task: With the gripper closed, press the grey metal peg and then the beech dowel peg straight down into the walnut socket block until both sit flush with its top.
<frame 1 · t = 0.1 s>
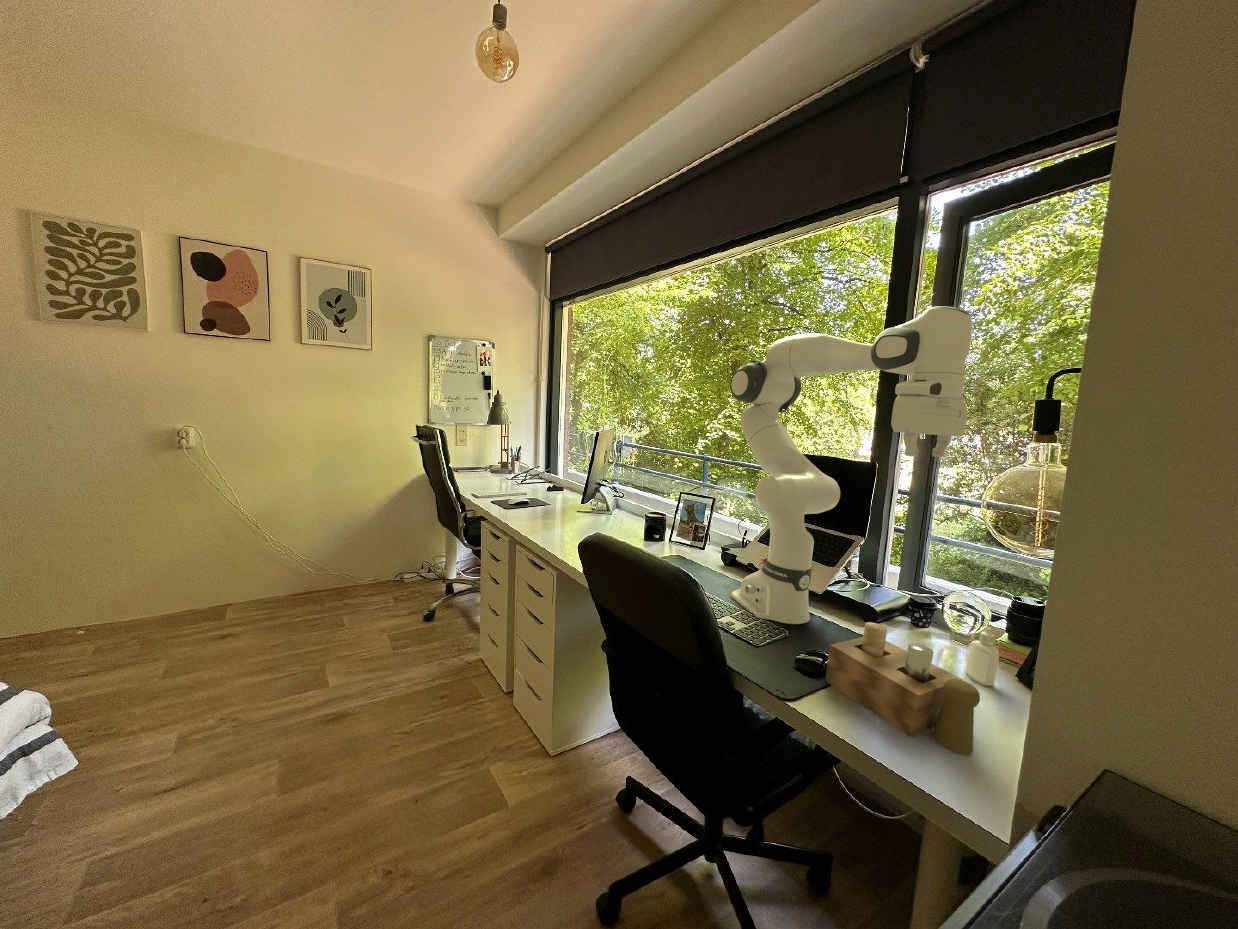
hand: (924, 456, 99), 48 cm above the table, fingers open, 8 cm apart
beech peg: (873, 645, 98), point 9 cm above the table, slide at 0.0 cm
cork: (951, 743, 84), on the table
grey metal peg: (917, 668, 90), point 9 cm above the table, slide at 0.0 cm
eye dropper bottle: (978, 680, 106), on the table
socket block: (887, 699, 95), on the table
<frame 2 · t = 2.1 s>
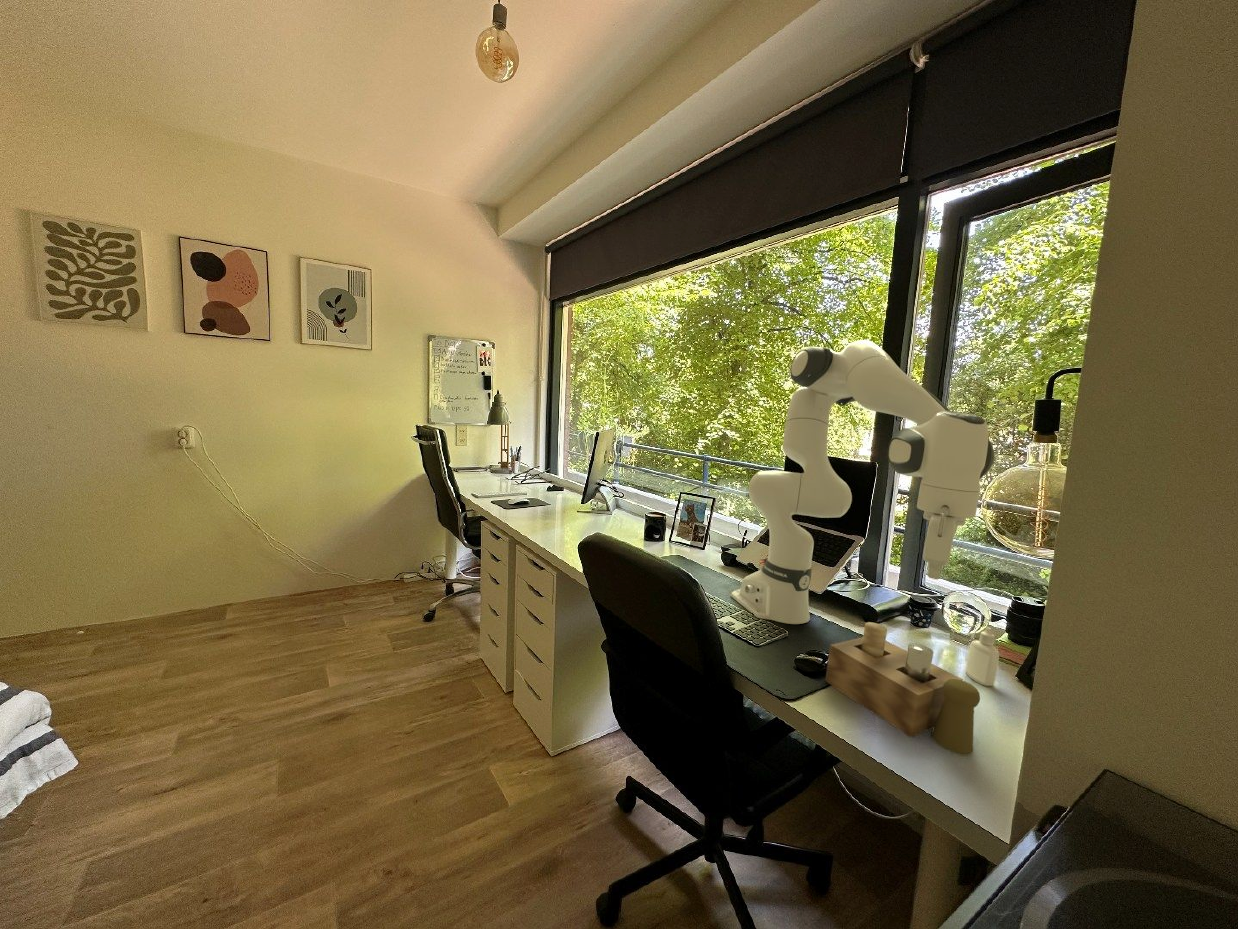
hand: (933, 576, 88), 27 cm above the table, fingers closed
nothing on the table moved.
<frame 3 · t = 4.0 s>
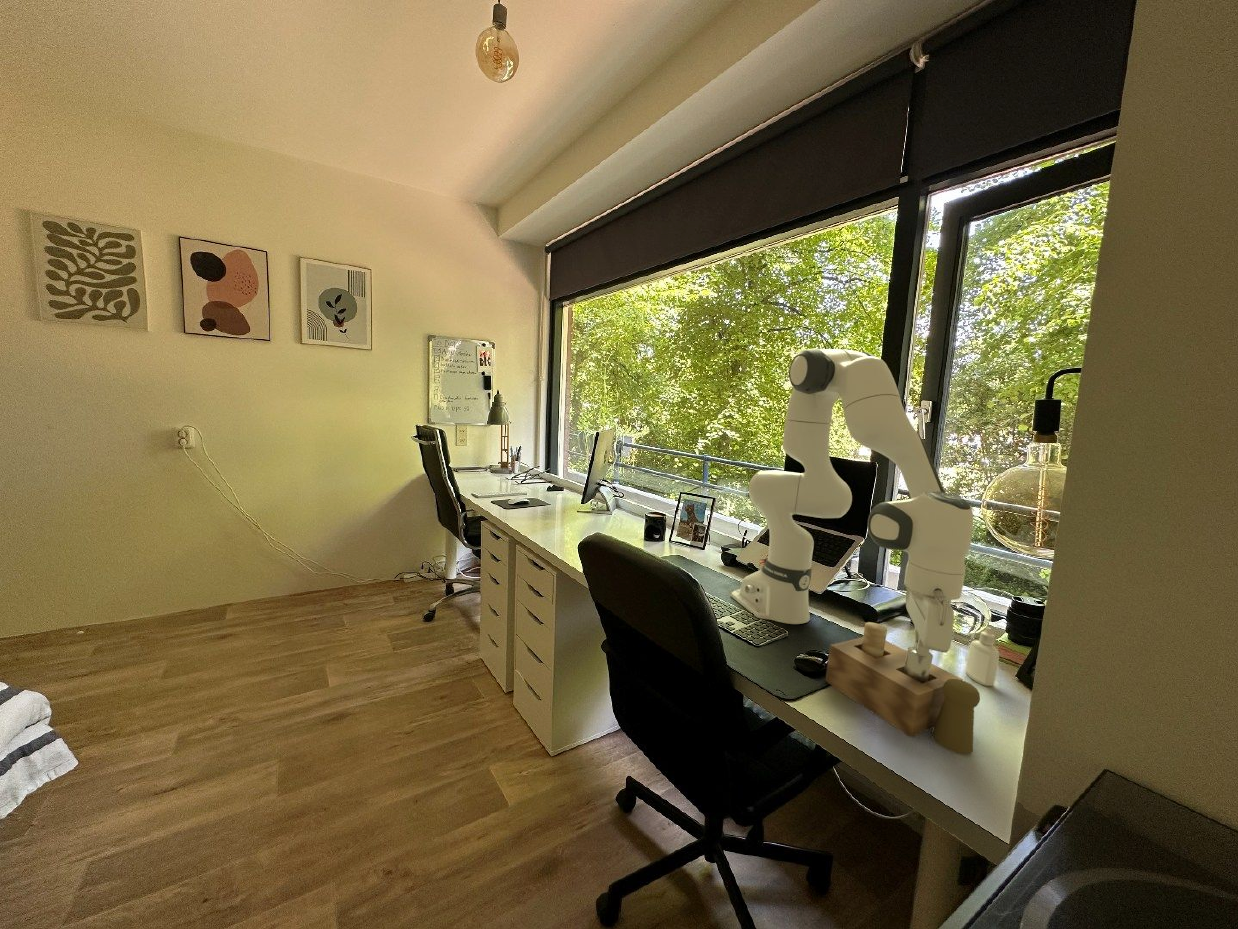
hand: (920, 652, 89), 12 cm above the table, fingers closed
grey metal peg: (916, 671, 90), point 8 cm above the table, slide at 0.8 cm, touching gripper
everything else where it was.
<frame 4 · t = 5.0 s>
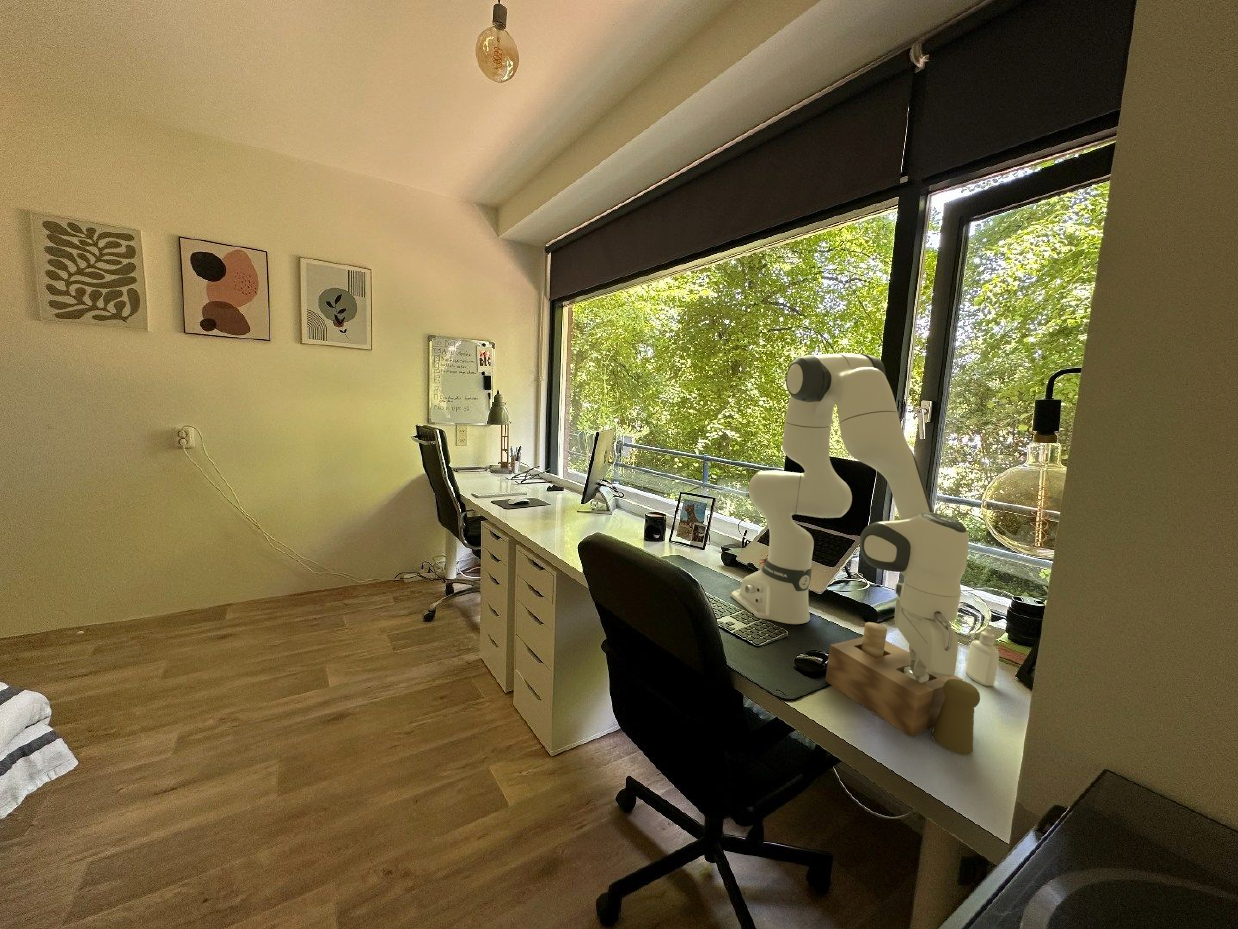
hand: (916, 672, 90), 8 cm above the table, fingers closed, pressing on grey metal peg
grey metal peg: (913, 691, 91), point 4 cm above the table, slide at 4.8 cm, touching gripper
everything else where it was.
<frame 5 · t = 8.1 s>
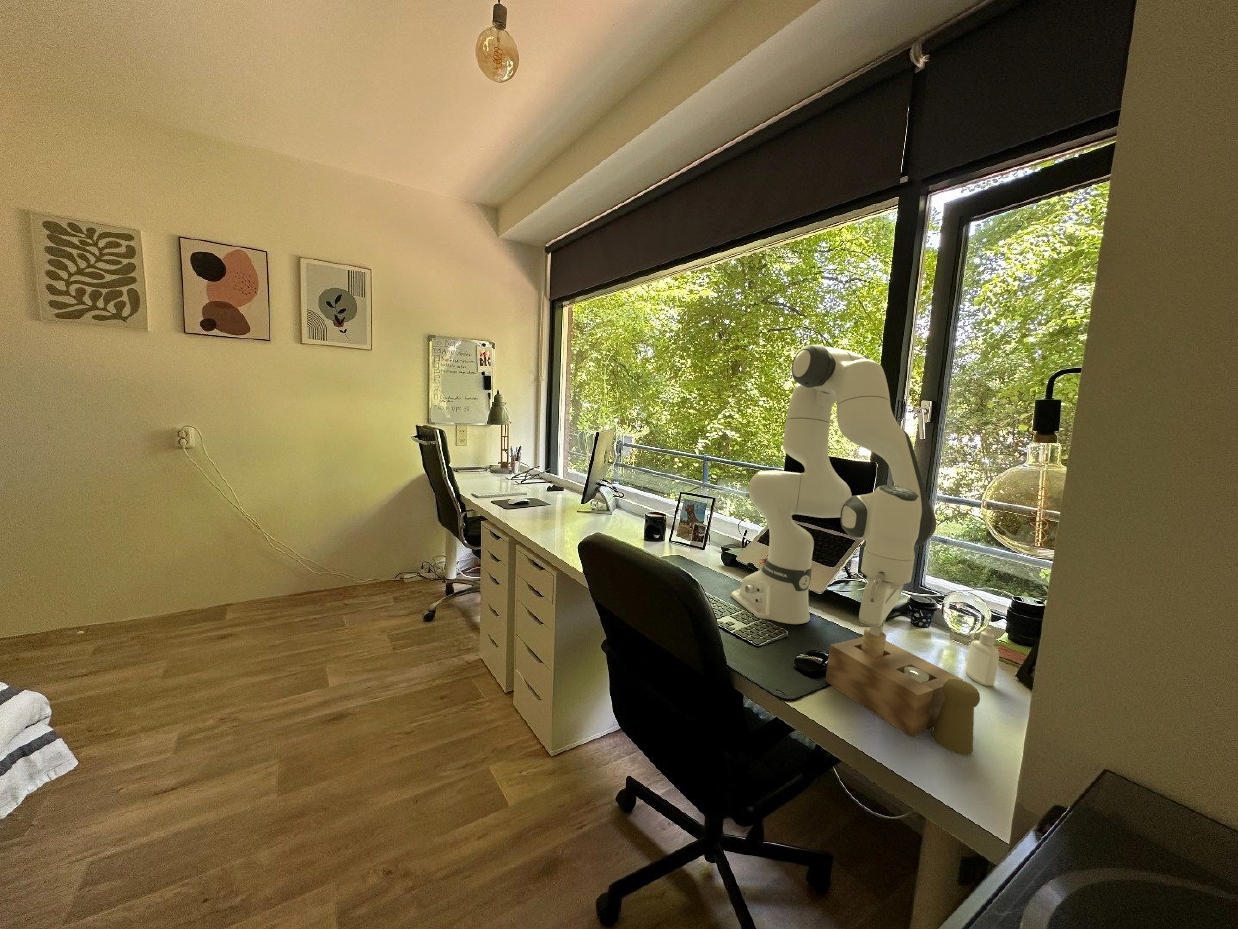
hand: (876, 633, 97), 12 cm above the table, fingers closed
beech peg: (872, 651, 98), point 8 cm above the table, slide at 1.3 cm, touching gripper
grey metal peg: (913, 691, 91), point 4 cm above the table, slide at 4.8 cm
everything else where it was.
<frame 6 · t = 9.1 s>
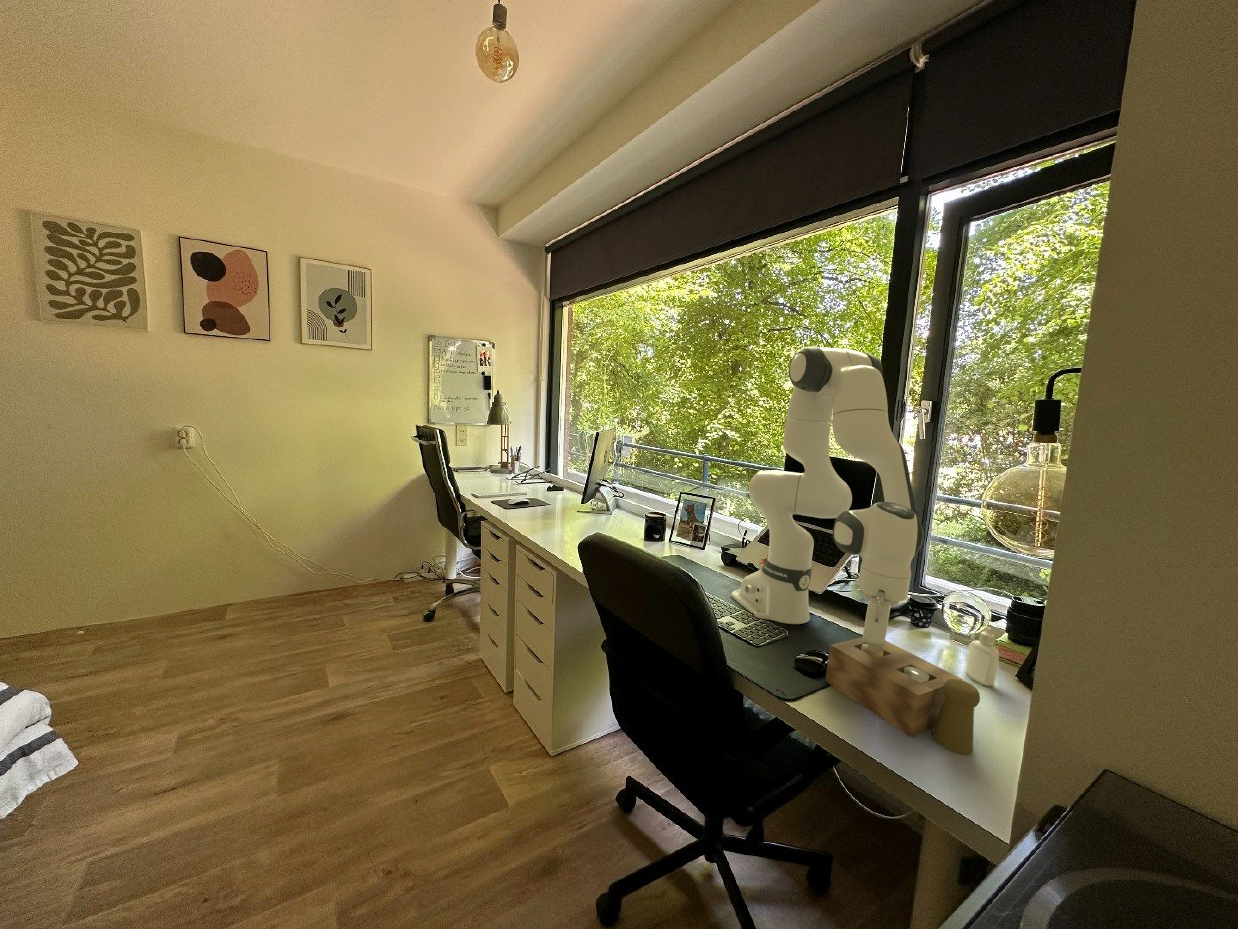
hand: (872, 649, 98), 8 cm above the table, fingers closed, pressing on beech peg
beech peg: (869, 666, 99), point 4 cm above the table, slide at 4.8 cm, touching gripper
everything else where it was.
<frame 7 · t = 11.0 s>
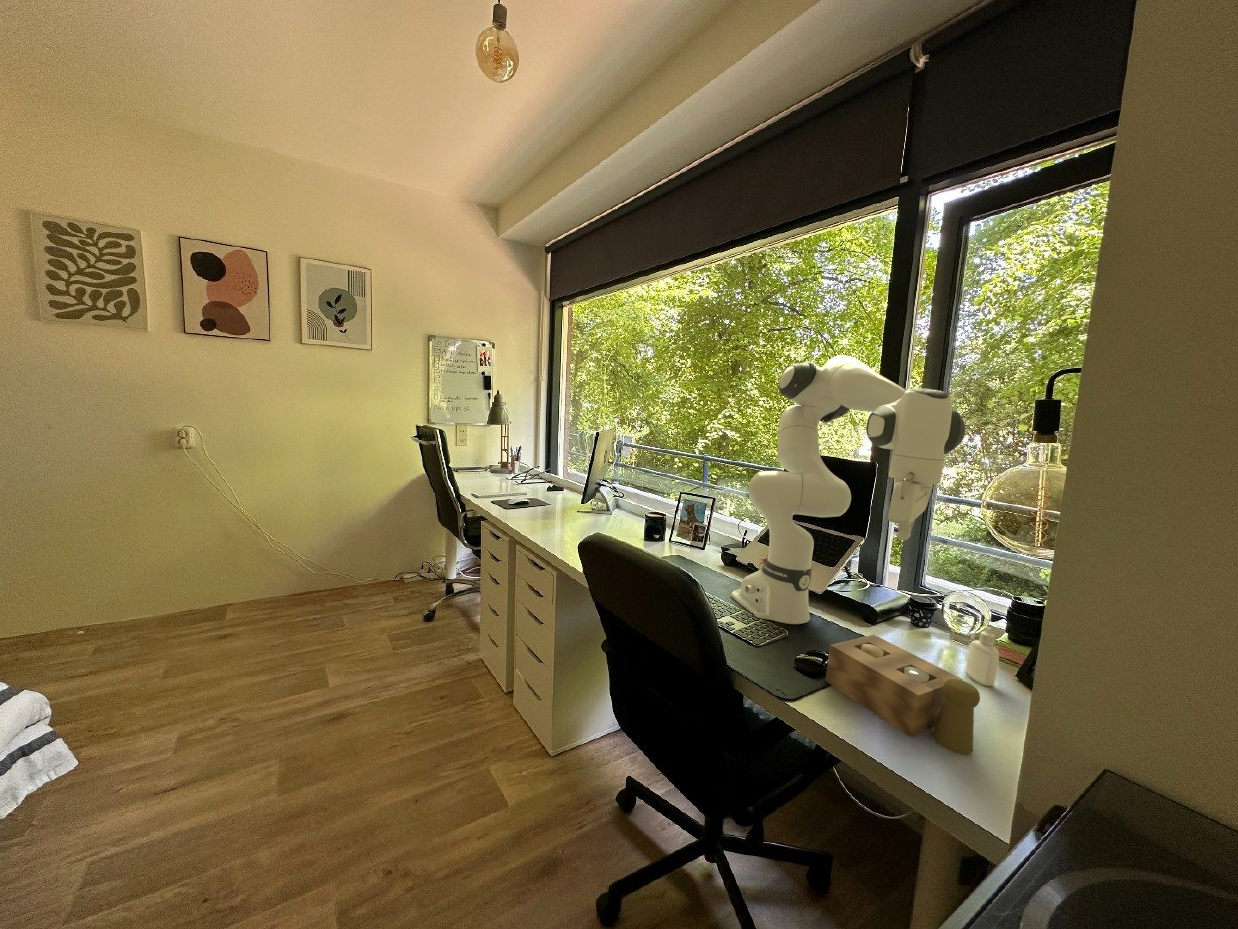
hand: (903, 538, 97), 31 cm above the table, fingers closed
beech peg: (869, 666, 99), point 4 cm above the table, slide at 4.8 cm
everything else where it was.
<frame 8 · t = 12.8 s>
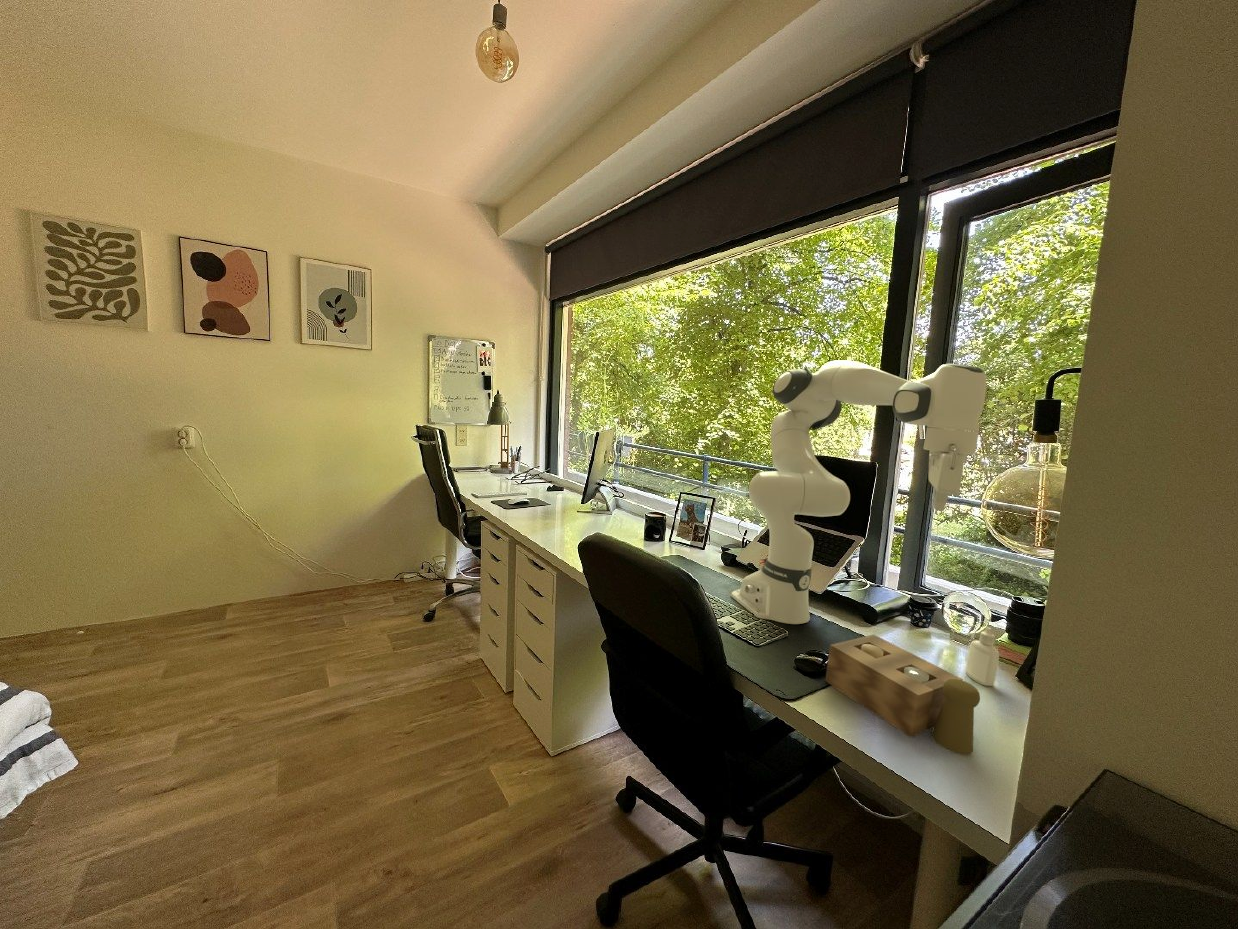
hand: (938, 509, 100), 37 cm above the table, fingers closed
nothing on the table moved.
at the end: grey metal peg slide at 4.8 cm; beech peg slide at 4.8 cm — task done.
